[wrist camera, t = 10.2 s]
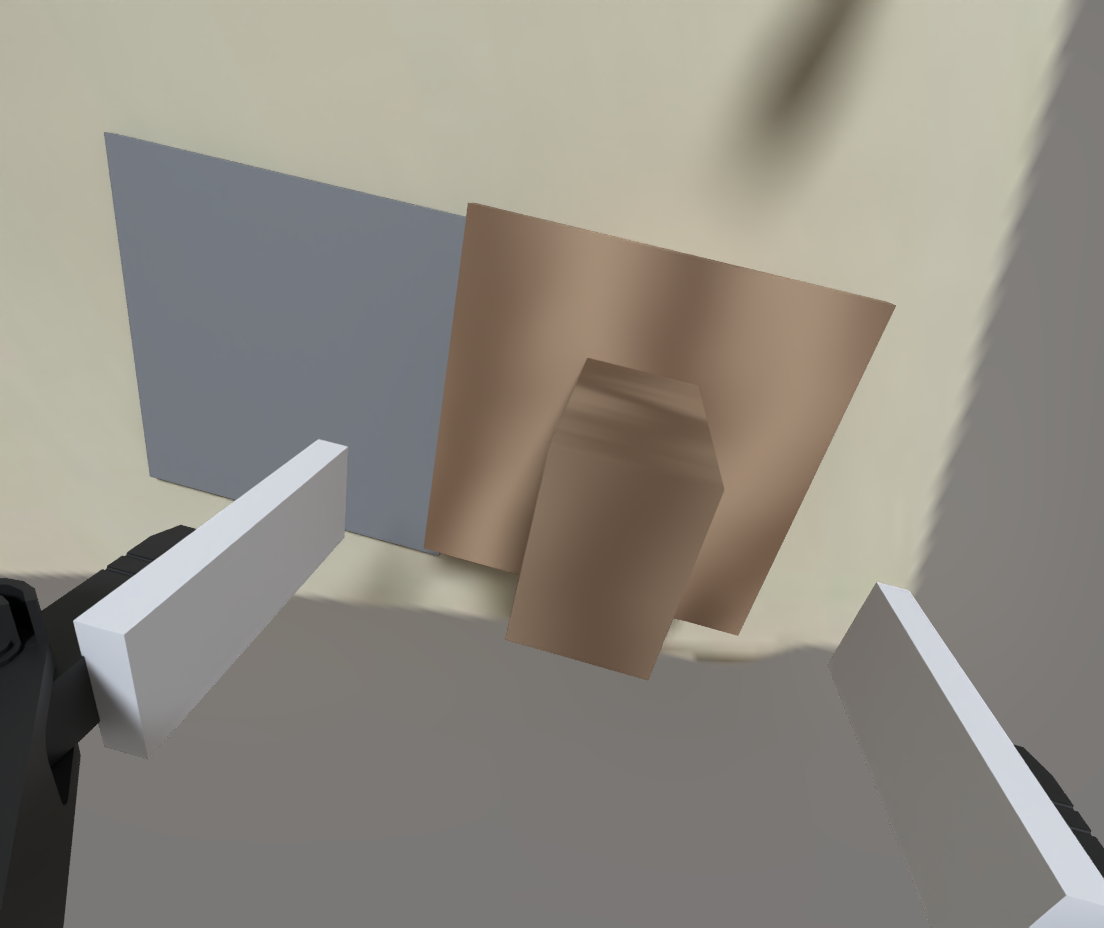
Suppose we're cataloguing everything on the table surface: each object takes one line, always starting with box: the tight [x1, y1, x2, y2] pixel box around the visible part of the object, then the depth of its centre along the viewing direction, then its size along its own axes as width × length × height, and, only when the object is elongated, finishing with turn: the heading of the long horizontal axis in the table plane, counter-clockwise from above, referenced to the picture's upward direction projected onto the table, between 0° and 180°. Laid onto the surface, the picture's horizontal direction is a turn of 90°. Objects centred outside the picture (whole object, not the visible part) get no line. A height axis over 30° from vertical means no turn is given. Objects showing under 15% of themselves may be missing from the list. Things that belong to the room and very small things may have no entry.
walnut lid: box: [424, 203, 896, 680], centre depth 18 cm, size 14×14×9 cm
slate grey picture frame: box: [104, 132, 466, 556], centre depth 29 cm, size 18×18×1 cm
